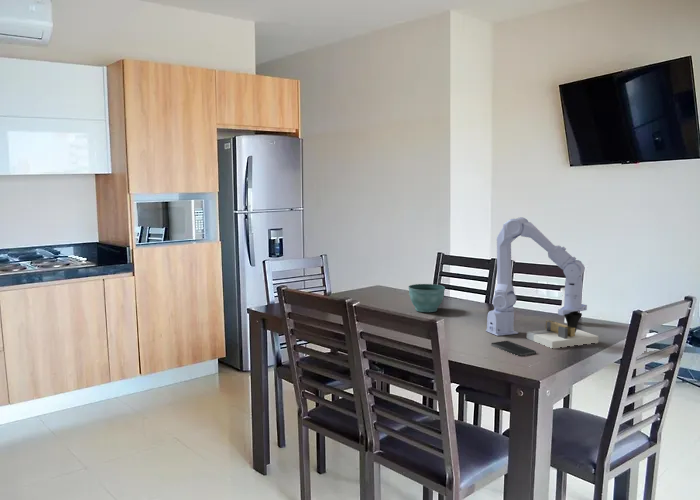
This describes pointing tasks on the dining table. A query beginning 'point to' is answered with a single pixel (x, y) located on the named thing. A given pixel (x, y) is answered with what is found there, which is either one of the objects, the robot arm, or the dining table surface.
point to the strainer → (563, 300)
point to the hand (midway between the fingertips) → (571, 332)
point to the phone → (513, 348)
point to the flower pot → (426, 296)
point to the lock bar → (554, 326)
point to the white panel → (561, 338)
